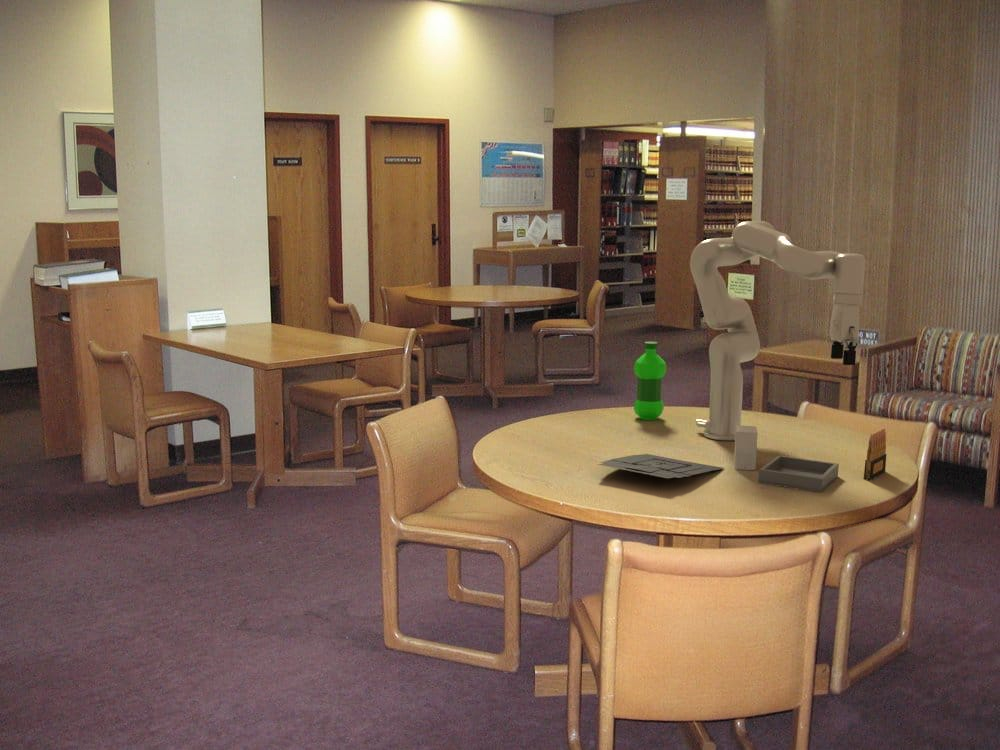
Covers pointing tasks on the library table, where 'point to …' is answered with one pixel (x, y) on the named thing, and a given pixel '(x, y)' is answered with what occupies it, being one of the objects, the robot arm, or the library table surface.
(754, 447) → the small box
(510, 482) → the library table surface
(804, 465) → the tray
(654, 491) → the library table surface
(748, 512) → the library table surface
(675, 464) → the dark grey grooved panel
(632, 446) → the library table surface
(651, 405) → the plastic bottle
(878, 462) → the ammunition clip
